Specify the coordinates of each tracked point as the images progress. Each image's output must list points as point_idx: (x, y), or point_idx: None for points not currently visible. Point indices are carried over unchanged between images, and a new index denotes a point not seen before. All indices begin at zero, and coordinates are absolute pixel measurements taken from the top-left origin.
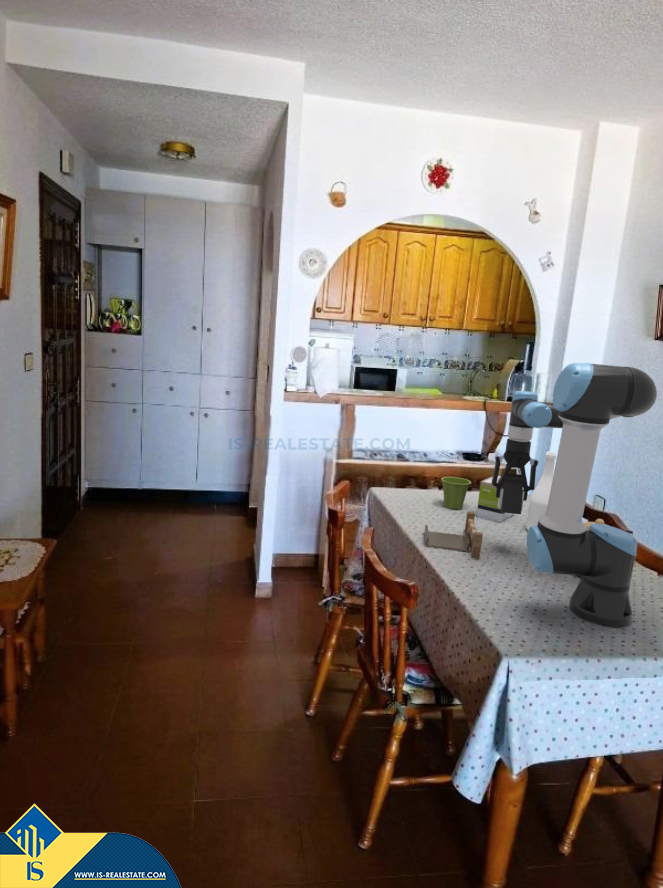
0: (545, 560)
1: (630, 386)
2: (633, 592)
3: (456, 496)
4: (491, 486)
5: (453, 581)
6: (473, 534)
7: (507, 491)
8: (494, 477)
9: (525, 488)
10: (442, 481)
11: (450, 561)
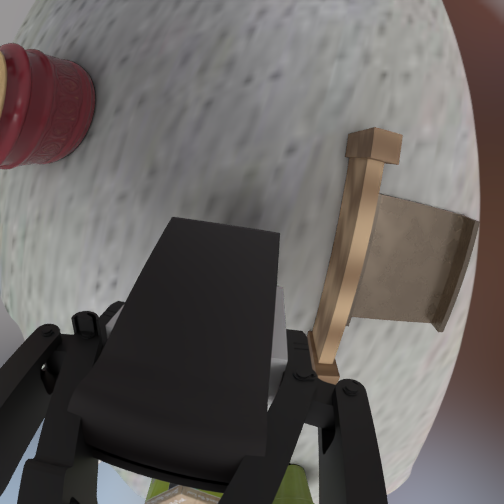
0: None
1: None
2: (30, 46)
3: (288, 486)
4: (216, 499)
5: (432, 7)
6: (376, 202)
7: (241, 329)
8: (371, 435)
9: (91, 342)
10: None
11: (431, 114)
